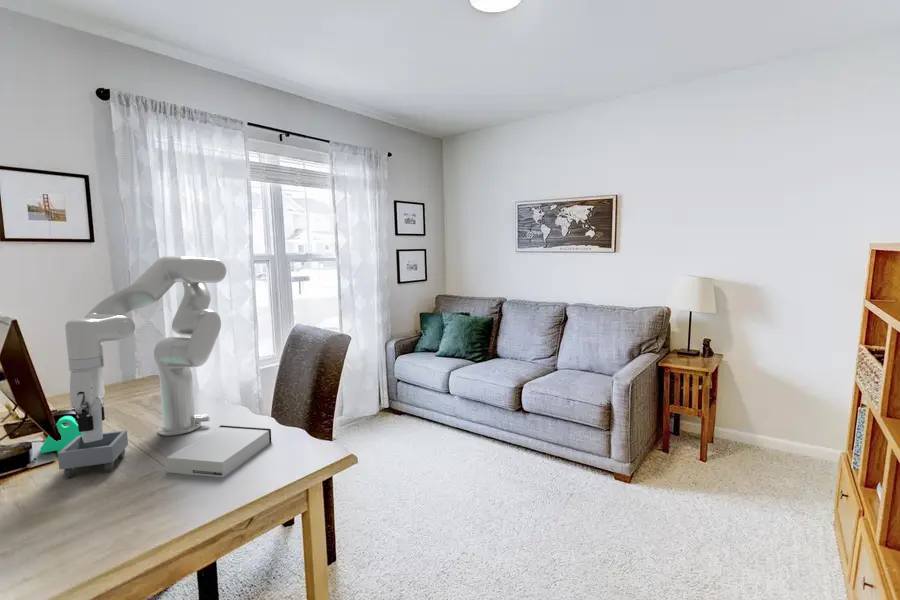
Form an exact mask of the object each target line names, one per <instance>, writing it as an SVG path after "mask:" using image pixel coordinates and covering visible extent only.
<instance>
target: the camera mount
mask: <svg viewBox="0 0 900 600" xmlns="http://www.w3.org/2000/svg"><path fill="white" fill-rule="evenodd" d="M63 424H68V425H63ZM55 425H57V428H58V430H59V433H60V435H61V440H60V441H56V440H54V439H53V438H51V437H50V436H49V435H48V436H47V437H46V439H45V440H44V442H43V444H42V445H41V447H40V454H44V453H49V452H54V451H55V452H57V454H58V453H59V452H60V451H61V450H62V449H61V448H64V447H66V446H67V445H68V444H69V443H70V442H71V441H73V440H74V439H75V438H76V437H77V436H82V432H79V430H78V422H77V421H76V418H74V417H73V416H72V415H64V416H62V417H60V418H59V419H58V421H57V422H56V424H55Z"/></svg>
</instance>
